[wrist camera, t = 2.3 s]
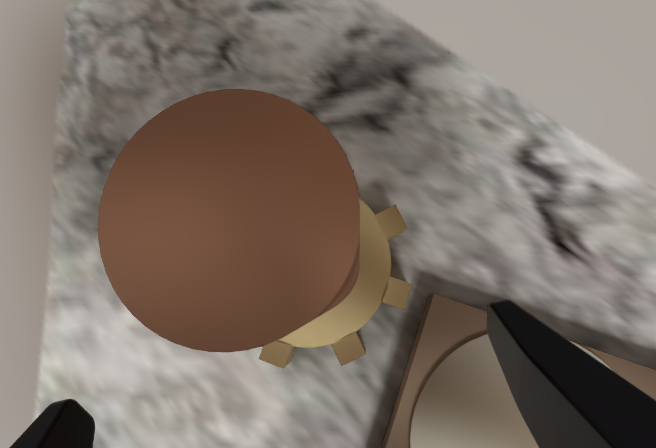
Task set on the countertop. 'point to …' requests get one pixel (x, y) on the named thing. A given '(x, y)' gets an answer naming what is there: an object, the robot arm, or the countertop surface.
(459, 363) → the gear board
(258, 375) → the countertop surface
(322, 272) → the gear spindle
